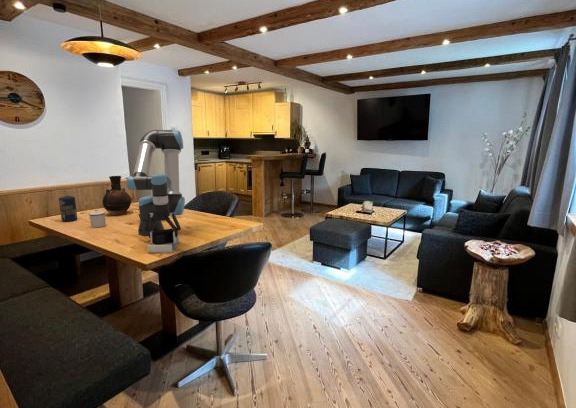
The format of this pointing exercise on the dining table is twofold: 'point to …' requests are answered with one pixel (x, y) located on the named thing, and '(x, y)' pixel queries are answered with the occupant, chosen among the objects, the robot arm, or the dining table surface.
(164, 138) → the robot arm
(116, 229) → the dining table surface
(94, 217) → the teacup with lid
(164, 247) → the cradle
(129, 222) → the dining table surface
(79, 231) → the dining table surface
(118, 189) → the ceramic vessel
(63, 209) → the canister
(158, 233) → the digital camera
